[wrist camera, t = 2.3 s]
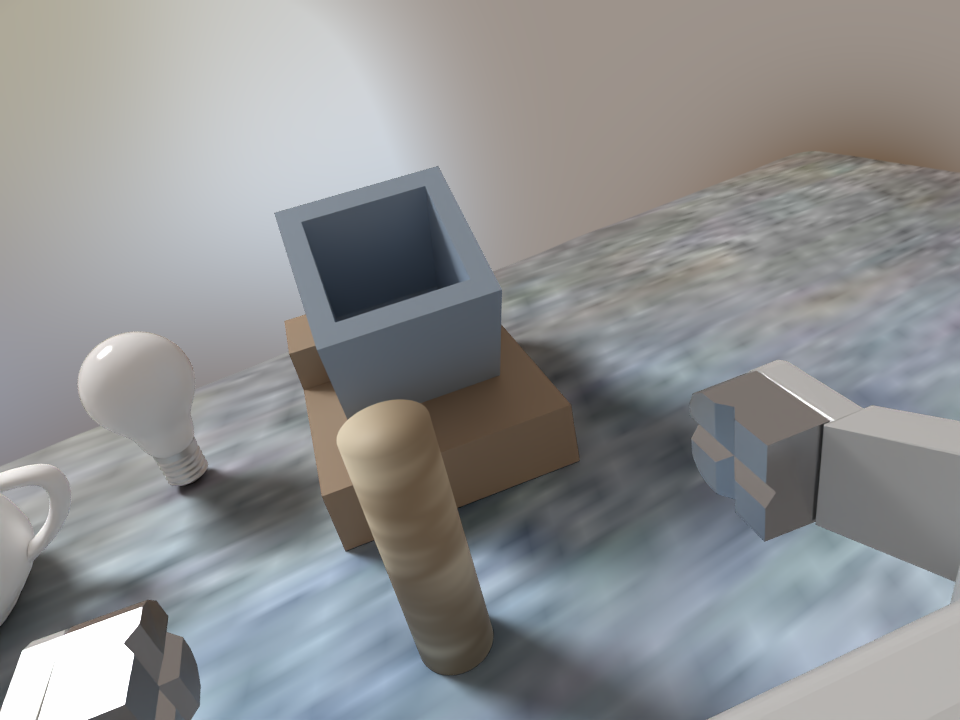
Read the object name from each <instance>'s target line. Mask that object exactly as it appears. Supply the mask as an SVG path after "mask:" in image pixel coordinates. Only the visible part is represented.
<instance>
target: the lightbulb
mask: <svg viewBox="0 0 960 720" xmlns="http://www.w3.org/2000/svg"><path fill="white" fill-rule="evenodd" d="M78 393H79V397H80V400H81V403H82V405H83V407H84V409H85V410H86V412H87V413H88V415H89V416H90V417H91V418H92V419H93V420H94V421H95V422H96V423H98V424H99V425H100V426H102V427H104V428H105V429H107V430H109V431H111V432H114V433H116V434H119V435H121V436H124V437H126V438H129V439H131V440H133V441H134V442H135V443H137V444H138V445H139V447H140V448H141V449H142V450H143V451H144V452H146V453H147V454H149V455H150V456H153V458H154V460H155V461H156V462H157V465H158V466H160V470H161V471H163V475H164V476H165V477H166V480H167V481H168V483H169V484H170V485H172V486H182V485H187V484H191V483H193V482H195V481H197V480H198V479H199V478H200V477H201V476H202V475H203V474H204V473H205V471H206V470H207V468H208V462H207V460H206V459H205V456H204V455H203V454H202V451H201V450H200V447H199V445H197V441H196V439H195V437H194V425H193V421H192V417H191V407H192V403H193V398H194V393H195V375H194V370H193V367H192V365H191V362H190V361H189V359H188V357H187V356H186V354H185V353H184V352H183V351H182V350H181V349H180V348H179V347H178V346H177V345H176V344H175V343H173V342H171V341H170V340H168V339H167V338H164V337H162V336H160V335H157V334H153V333H148V332H128V333H122V334H118V335H115V336H113V337H110V338H108V339H107V340H105V341H103V342H102V343H100V344H99V345H97V346H96V347H95V348H94V349H93V350H92V351H91V352H90V353H89V354H88V356H87V357H86V358H85V360H84V362H83V364H82V367H81V369H80V372H79V376H78Z"/></svg>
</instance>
